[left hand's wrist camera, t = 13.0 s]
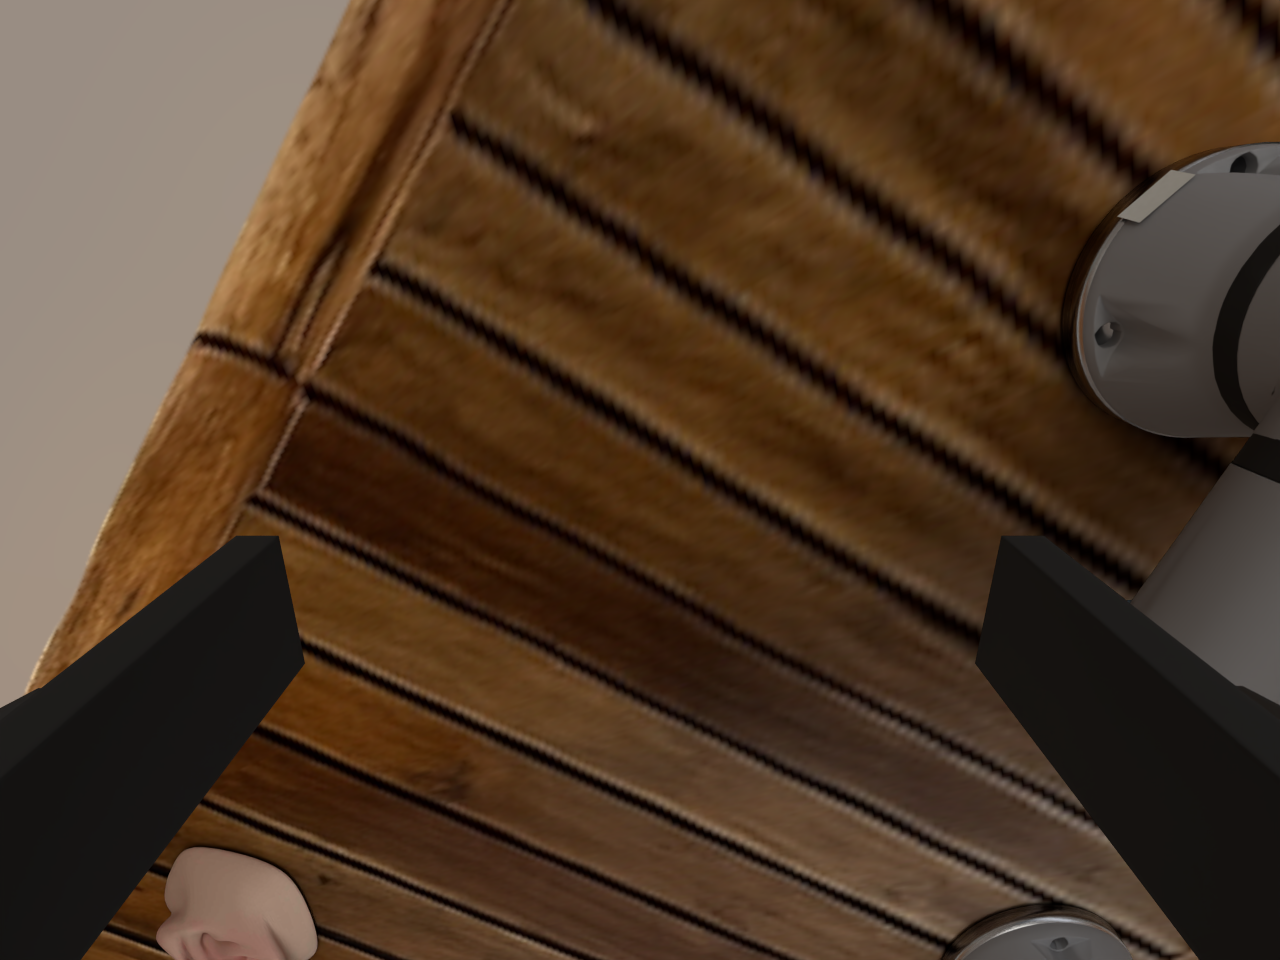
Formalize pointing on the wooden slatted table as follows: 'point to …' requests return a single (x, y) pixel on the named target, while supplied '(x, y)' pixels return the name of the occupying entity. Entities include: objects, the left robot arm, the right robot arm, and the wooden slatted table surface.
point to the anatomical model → (234, 910)
